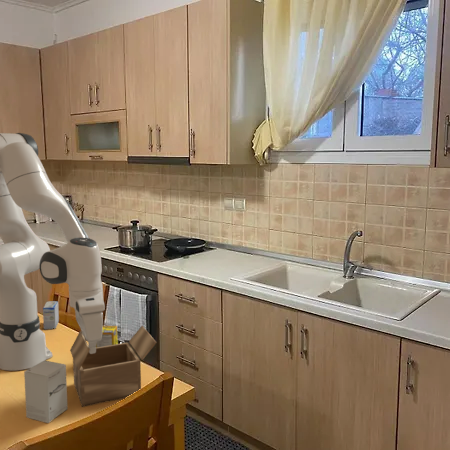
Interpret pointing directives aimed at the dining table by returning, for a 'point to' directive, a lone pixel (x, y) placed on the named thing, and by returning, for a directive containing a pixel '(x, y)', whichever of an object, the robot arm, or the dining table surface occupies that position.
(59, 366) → the supplement box
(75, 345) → the flap
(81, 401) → the carton
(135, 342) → the flap
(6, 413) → the dining table surface
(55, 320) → the medicine box
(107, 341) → the supplement box
